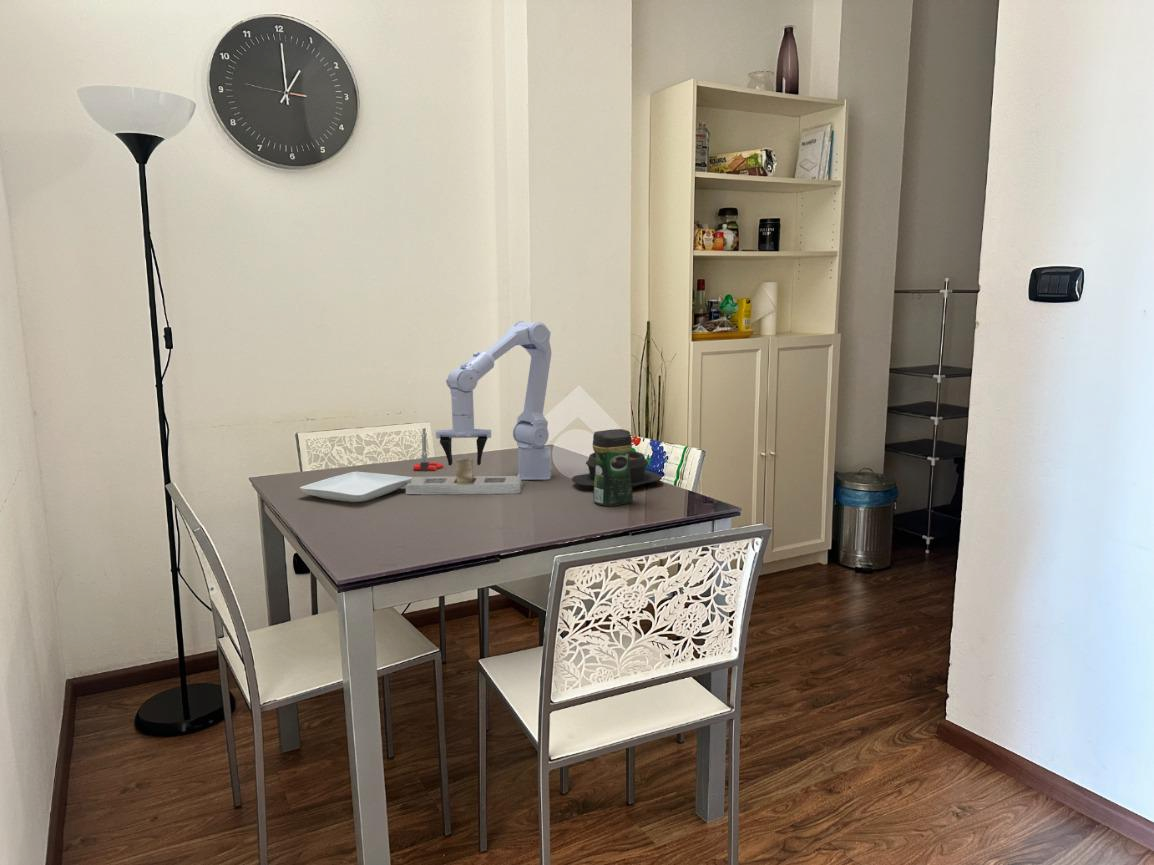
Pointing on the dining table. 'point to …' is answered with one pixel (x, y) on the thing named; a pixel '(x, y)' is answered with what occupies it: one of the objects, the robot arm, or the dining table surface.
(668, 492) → the dining table surface
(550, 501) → the dining table surface
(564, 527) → the dining table surface
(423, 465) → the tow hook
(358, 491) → the salad plate
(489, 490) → the grey slotted board
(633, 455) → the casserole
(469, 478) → the peg
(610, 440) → the coffee jar
